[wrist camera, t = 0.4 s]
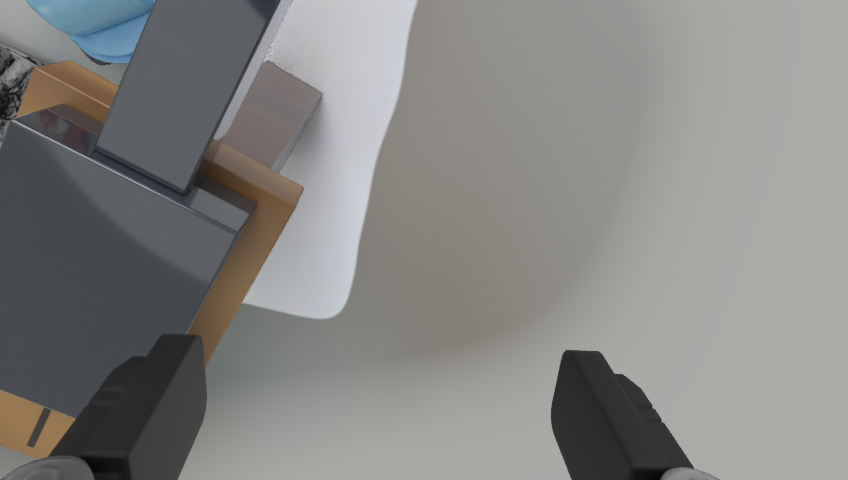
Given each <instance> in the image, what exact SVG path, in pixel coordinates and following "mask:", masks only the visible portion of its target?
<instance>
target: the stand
mask: <svg viewBox="0 0 848 480" xmlns="http://www.w3.org/2000/svg"><path fill="white" fill-rule="evenodd" d="M118 87H119V86H117V85H115V84H113V83H111V82H109V81H108V80H106V79H104V78H102V77H100V76H98V75H97V74H95V73H93V72H91V71H89V70H87V69H86V68H84V67H82V66H80V65H78V64H76V63H75V62H73V61H66V62H60V63H55V64H49V65H43V66H38V67H35V68H34V70H33V72H32V75H31V78H30V81H29V83H28V86H27V89H26V92H25V94H24V97H23V100H22V103H21V105H20V108H19V111H18V114H17V116H16V117H18V116H22V115H25V114H28V113H31V112H35V111H38V110H41V109H45V108H48V107H51V106H55V105H58V104H61V103H64V104H67V105H69V106H70V107H72V108H74V109H76V110H78V111H80V112H82V113H84V114H86V115H88V116H90V117H91V118H93V119H95V120H97V121H99V122H101V123H104V120H105V118H106V116H107V113H108V111H109V108H110V106H111V104H112V101H113V99H114V97H115V94H116V92H117V89H118ZM322 95H323V93H321V92H320V91H318V90H316V89H315V88H313V87H311V86H310V85H308V84H306V83H305V82H303V81H301V80H300V79H298V78H296V77H295V76H293V75H291V74H290V73H288V72H286V71H285V70H283V69H281V68H280V67H278V66H276V65H274V64H273V63H271V62H269V61H268V60H267V61H265V62H263V63H261V65H260V67H259V69H258V71H257V74H256V76H255V78H254V80H253V82H252V84H251V86H250V88H249V90H248V92H247V94H246V96H245V98H244V100H243V102H242V104H241V106H240V108H239V110H238V112H237V114H236V116H235V118H234V120H233V122H232V124H231V126H230V128H229V130H228V132H227V134H226V136H225V138H224V140H223V142H222V144H221V146H220V148H219V150H218V152H217V154H216V156H215V158H214V160H213V162H212V164H211V166H210V168H209V170H208V172H207V174H206V175H205V176H204V177H206V178H208V179H210V180H212V181H214V182H215V183H217V184H219V185H221V186H223V187H225V188H227V189H229V190H231V191H233V192H235V193H236V194H238V195H240V196H242V197H244V198H246V199H248V200H250V201H252V202H254V203H256V204H257V209H256V211H255V213H254V215H253V217H252V219H251V220H250V222H249V224H248V226H247V228H246V230H245V232H244V233H243V235H242V237H241V239H240V241H239V243H238V244H237V246H236V248H235V250H234V252H233V254H232V256H231V257H230V259H229V261H228V263H227V265H226V267H225V268H224V270H223V272H222V274H221V276H220V278H219V280H218V281H217V283H216V285H215V287H214V289H213V291H212V292H211V294H210V296H209V298H208V300H207V302H206V304H205V305H204V307H203V309H202V311H201V313H200V315H199V317H198V318H197V320H196V322H195V324H194V326H193V328H192V329H191V331H190V333H189V335H200V336H201V338H202V341H203V351H204V364H205V367H206V365H207V363H208V361H209V360H210V357H211V356H212V354H213V353H214V351H215V349H216V347H217V345H218V344H219V342H220V340H221V338H222V337H223V335H224V333H225V331H226V330H227V328H228V326H229V324H230V323H231V321H232V319H233V317H234V315H235V314H236V312H237V310H238V308H239V307H240V305H241V303H242V301H243V300H244V298H245V296H246V294H247V292H248V291H249V289H250V287H251V285H252V284H253V282H254V280H255V278H256V277H257V275H258V273H259V271H260V269H261V268H262V266H263V264H264V262H265V261H266V259H267V257H268V255H269V254H270V252H271V250H272V248H273V246H274V245H275V243H276V241H277V239H278V238H279V236H280V234H281V232H282V231H283V229H284V227H285V225H286V224H287V222H288V220H289V218H290V216H291V215H292V213H293V211H294V209H295V208H296V205H297V203H298V201H299V199H300V196H301V194H302V192H303V190H304V188H303V187H302V186H300V185H299V184H297V183H295V182H293V181H291V180H289V179H288V178H286V177H284V176H282V175H280V174H278V173H279V171H280V169H281V168H282V166H283V165H284V163H285V162H286V160H287V158H288V157H289V155H290V154H291V152H292V150H293V148H294V146H295V144H296V142H297V141H298V139H299V137H300V135H301V133H302V131H303V130H304V128H305V126H306V124H307V122H308V120H309V119H310V117H311V115H312V113H313V111H314V109H315V108H316V106H317V104H318V102H319V100H320V98H321V96H322ZM74 421H75V419H74V418H72V417H69V416H66V415H64V414H61V413H59V412H56V411H53V410H51V409H48V408H46V407H43V406H40V405H38V404H35V403H33V402H30V401H27V400H25V399H22V398H20V397H17V396H14V395H12V394H9V393H7V392H4V391H1V390H0V445H1V446H4V447H7V448H10V449H12V450H15V451H18V452H21V453H23V454H26V455H29V456H32V457H35V458H37V459H41V458H45V457H48V456H49V454H50V453H51V452H52V450H53V449H54V447H55V446H56V445H57V443H58V442H59V441H60V439H61V438H62V437H63V435H64V434H65V433H66V431H67V430H68V429H69V427H70V426H71V425H72V423H73V422H74Z"/></svg>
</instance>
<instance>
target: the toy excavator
mask: <svg viewBox="0 0 848 480" xmlns="http://www.w3.org/2000/svg"><path fill="white" fill-rule="evenodd" d="M26 1H27V3H28V4H29V5H30V6H31V7H32V8H33V9H34V10H35V11H36V12H37V13H38V14H39V15H40V16H41V17H42V18H43V19H45V20H46V21H47V22H48V23H50V24H51V25H53V26H54V27H56V28H57V29H59V30H61V31H63V32H65V33H67V34H68V35H69V37H70V38H71V40H72V41H75V42H76V44H77V45H78V46H79V47H80V48H81V50H82V51H83V52H84V53H85V54H86V56H87V57H89V58H90V60H92V61H93V62H95V63H96V64H98V65H107V64H108V65H109V64H110V63H118V64H119V63H129V61H130V58H131V56H132V54H133V51H134V49H135V47H136V44H137V42H138V39H139V37H140V35H141V32H142V30H143V27H144V25H145V23H146V20H147V18H148V16H149V13H150V11H151V8H152V6H153V4H154V1H155V0H26Z"/></svg>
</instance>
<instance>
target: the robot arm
mask: <svg viewBox="0 0 848 480" xmlns="http://www.w3.org/2000/svg"><path fill="white" fill-rule="evenodd" d="M206 401H207V392H206V379H205V364H204V351H203V341H202V338H201V336H200V335H188V334H162V335H161V336H160V337H159V339H158V340H157V342H156V343H155V345H154V346H153V347H152V349H151V350H150V352H149V353H148V355H147V356H146V357H143V356H133V357H132V358H130V359H129V360H127V361H126V362H124V363H123V364H121V365H120V366H118V367H117V368H115V369H114V370H112V371H111V373H110V374H109V375H108V377H107V378H106V379H105V381H104V382H103V383H102V385H101V386H100V387H99V391H96V393H95V394H94V395H93V397H92V398H91V399H90V401H89V402H88V406H85V407H84V409H83V410H82V411H81V413H80V414H79V415H78V417H77V418H76V419H75V421H74V422H73V423H72V425H71V426H70V427H69V429H68V430H67V431H66V433H65V434H64V435H63V437H62V438H61V439H60V441H59V442H58V443H57V445H56V446H55V447H54V449H53V450H52V452H51V453H50V454H49V456H48V457H45V458H41V459H38V460H35V461H32V462H29V463H27V464H25V465H22V466H20V467H18V468H17V469H15V470H13V471H12V472H10V473H9V474H7V475H6V476H5V477H3V478H2V479H1V480H178V477H179V475H180V473H181V471H182V468H183V466H184V464H185V461H186V459H187V457H188V454H189V452H190V450H191V448H192V445H193V443H194V441H195V439H196V436H197V434H198V432H199V429H200V427H201V425H202V422H203V419H204V414H205V410H206ZM551 423H552V429H553V433H554V436H555V438H556V441H557V443H558V446H559V449H560V451H561V454H562V456H563V459H564V461H565V464H566V466H567V469H568V472H569V474H570V477H571V479H572V480H719V479H718V478H716V477H714V476H712V475H710V474H708V473H706V472H703V471H700V470H697V469H694V467H693V466H692V464H691V463H690V461H689V460H688V458H687V457H686V455H685V454H684V452H683V451H682V449H681V448H680V446H679V445H678V443H677V442H676V440H675V439H674V437H673V436H672V434H671V433H670V431H669V430H668V428H667V427H666V425H665V424H664V423H662V422H661V418H660V416H659V415H658V413H657V412H656V410H655V409H653V408H652V404H651V403H650V401H649V400H648V398H647V397H646V395H645V394H644V392H643V391H642V390H641V388H639V387H638V386H637V385H636V384H634V383H633V382H632V381H631V380H629V379H628V378H627V377H626V376H624V375H623V374H614V373H613V371H612V369H611V368H610V366H609V365H608V363H607V361H606V360H605V358H604V356H603V355H602V354H601V353H600V352H598V351H578V350H576V351H575V350H566V351H565V352H564V353H563V356H562V359H561V364H560V369H559V373H558V378H557V383H556V387H555V392H554V397H553V401H552V407H551Z"/></svg>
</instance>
